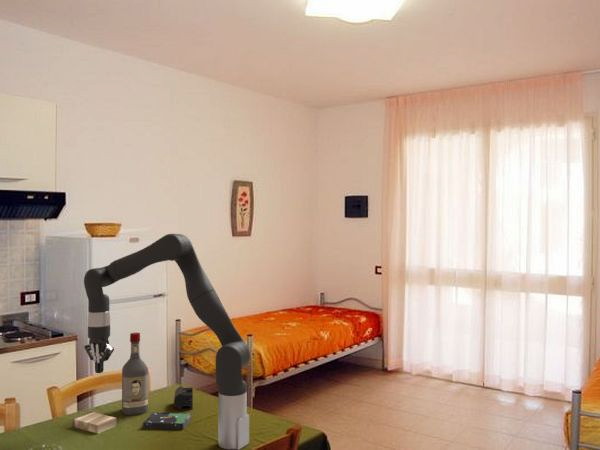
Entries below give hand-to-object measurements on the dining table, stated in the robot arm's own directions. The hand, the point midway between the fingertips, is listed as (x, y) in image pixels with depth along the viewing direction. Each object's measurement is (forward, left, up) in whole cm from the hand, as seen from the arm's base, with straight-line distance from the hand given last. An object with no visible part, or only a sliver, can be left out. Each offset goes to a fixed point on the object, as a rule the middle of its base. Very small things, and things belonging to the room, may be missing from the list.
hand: (99, 372), depth 186 cm
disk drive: (-19, -14, -20) cm, 31 cm away
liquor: (+1, -18, -20) cm, 27 cm away
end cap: (-12, -31, -20) cm, 39 cm away
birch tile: (-4, 0, -18) cm, 19 cm away
